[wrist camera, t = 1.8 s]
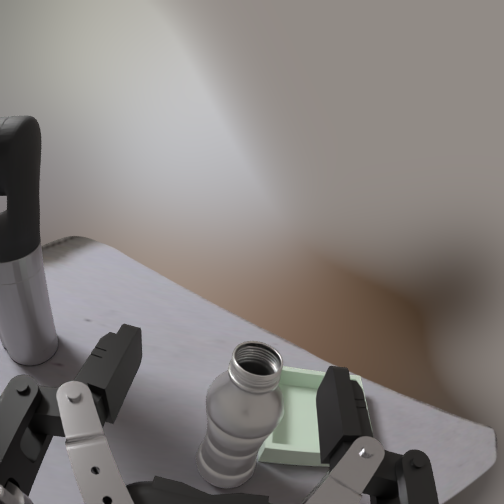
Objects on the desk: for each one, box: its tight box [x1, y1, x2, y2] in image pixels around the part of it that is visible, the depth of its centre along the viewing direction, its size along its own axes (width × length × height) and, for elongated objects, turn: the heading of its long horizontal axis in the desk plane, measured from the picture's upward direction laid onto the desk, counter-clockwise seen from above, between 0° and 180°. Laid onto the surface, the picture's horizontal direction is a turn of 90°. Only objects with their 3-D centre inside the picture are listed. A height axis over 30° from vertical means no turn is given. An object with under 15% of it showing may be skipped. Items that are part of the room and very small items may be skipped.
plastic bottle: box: [196, 341, 284, 488], centre depth 26 cm, size 6×7×20 cm
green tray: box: [258, 366, 373, 467], centre depth 38 cm, size 14×14×4 cm
